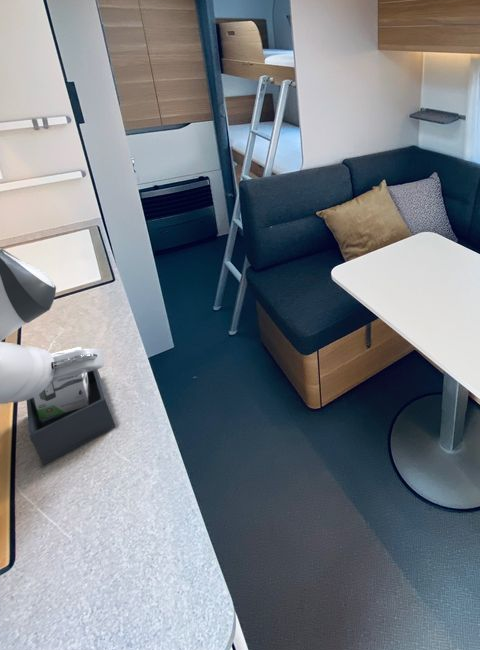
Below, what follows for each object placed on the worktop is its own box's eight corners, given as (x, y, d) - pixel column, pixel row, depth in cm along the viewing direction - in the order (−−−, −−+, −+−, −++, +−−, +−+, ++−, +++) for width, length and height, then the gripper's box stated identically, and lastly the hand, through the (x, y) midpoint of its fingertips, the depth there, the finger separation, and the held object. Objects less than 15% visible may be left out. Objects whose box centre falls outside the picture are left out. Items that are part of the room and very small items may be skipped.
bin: (38, 410, 90) (24, 383, 87) (101, 380, 97) (91, 354, 94) (44, 465, 79) (29, 436, 76) (115, 426, 86) (105, 399, 83)
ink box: (38, 421, 83) (25, 372, 79) (43, 405, 87) (31, 357, 84) (89, 406, 87) (79, 358, 83) (91, 391, 91) (81, 345, 88)
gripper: (90, 336, 75) (112, 343, 87) (-55, 374, 67) (-9, 376, 79) (92, 372, 73) (115, 374, 85) (-56, 415, 65) (-9, 410, 77)
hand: (54, 375), depth 82 cm, fingers closed on ink box, 8 cm apart
